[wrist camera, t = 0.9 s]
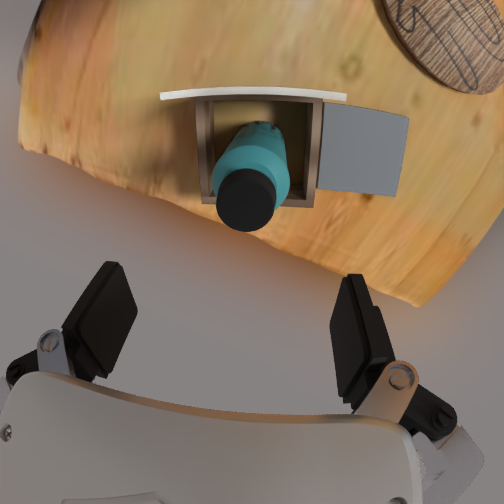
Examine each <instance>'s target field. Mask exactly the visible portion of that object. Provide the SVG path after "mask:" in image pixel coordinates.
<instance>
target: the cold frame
mask: <svg viewBox="0 0 504 504" xmlns="http://www.w3.org/2000/svg"><path fill="white" fill-rule="evenodd" d="M194 96H195V112H196V131H197V148H198V163H199V176H200V188H201V200H202V204H216V199H217V197H216V195H215V193H214V190H213V186H212V174H213V170H214V167H215V165H216V164H215V142H214V116H213V101H220V100H277V101H295V102H308V108H307V127H306V143H305V158H304V171H303V183H302V185H290V187H289V191H288V194H287V196H286V198H285V200H284V201H283V203H282V204H281V205H280V206H285V207H304V208H313V206H314V197H315V188H316V178H317V168H318V157H319V146H320V133H321V119H322V103H323V98H325V99H333V100H341V101H346V94H344V93H338V92H331V91H324V90H315V89H304V88H290V87H268V86H234V87H211V88H197V89H187V90H179V91H171V92H164V93H160V98H161V100H165V99H174V98H183V97H194Z"/></svg>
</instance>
